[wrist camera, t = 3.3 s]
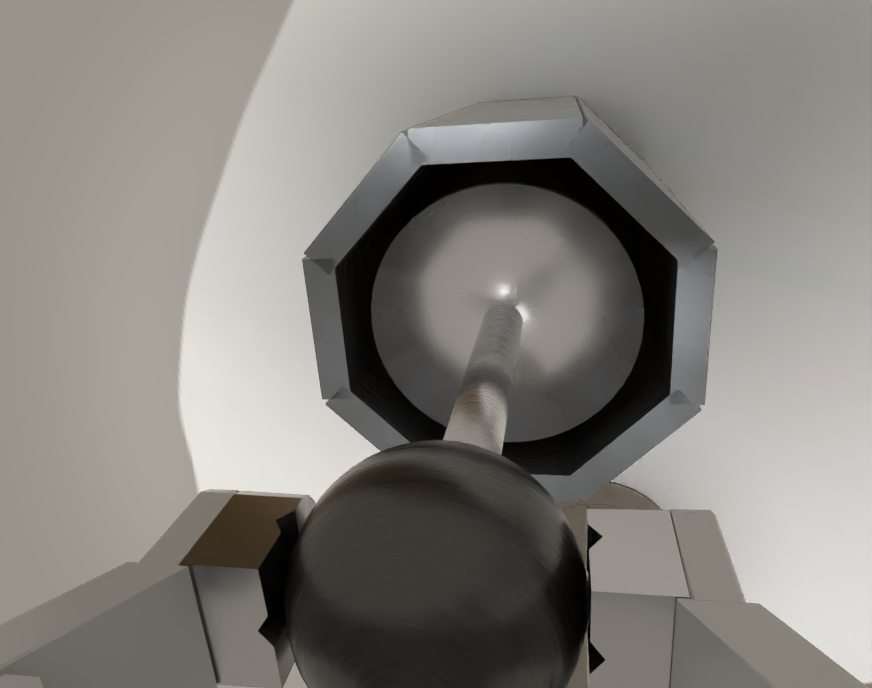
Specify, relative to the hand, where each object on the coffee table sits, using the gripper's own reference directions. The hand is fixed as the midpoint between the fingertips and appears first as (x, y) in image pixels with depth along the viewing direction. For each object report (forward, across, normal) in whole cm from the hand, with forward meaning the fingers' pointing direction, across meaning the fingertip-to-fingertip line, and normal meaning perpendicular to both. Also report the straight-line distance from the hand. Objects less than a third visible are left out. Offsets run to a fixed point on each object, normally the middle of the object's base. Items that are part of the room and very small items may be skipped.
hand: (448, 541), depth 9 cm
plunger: (+10, 0, 0) cm, 10 cm away
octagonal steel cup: (+22, 0, +2) cm, 22 cm away
